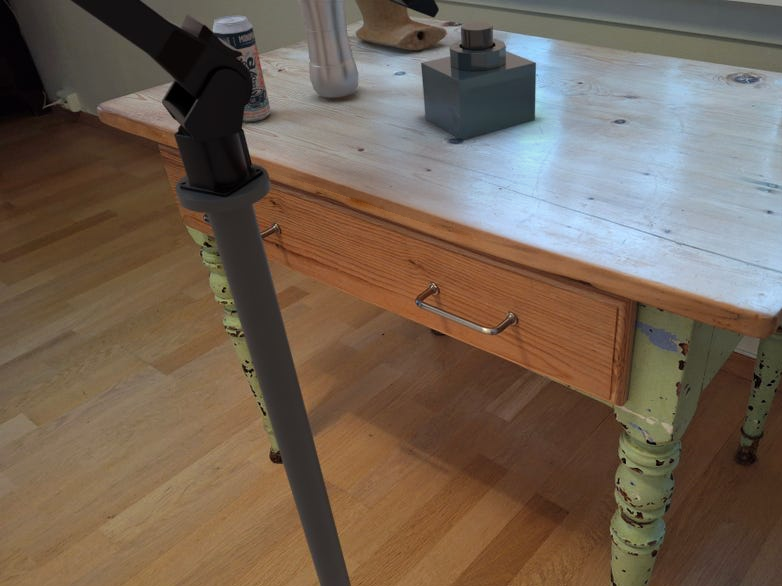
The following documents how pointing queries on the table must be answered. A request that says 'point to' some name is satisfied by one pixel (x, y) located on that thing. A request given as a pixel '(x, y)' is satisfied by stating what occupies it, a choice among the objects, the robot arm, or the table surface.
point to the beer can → (246, 61)
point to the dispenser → (479, 90)
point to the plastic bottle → (329, 48)
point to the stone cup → (395, 26)
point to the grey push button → (477, 36)
